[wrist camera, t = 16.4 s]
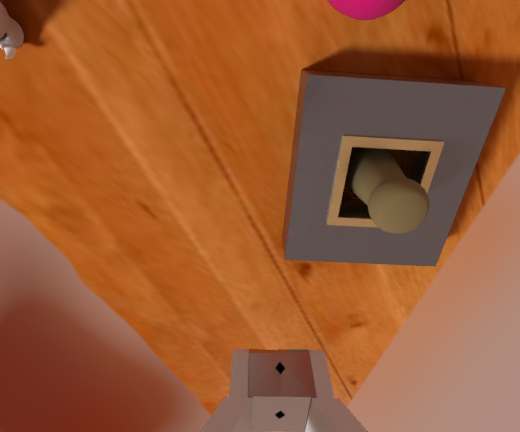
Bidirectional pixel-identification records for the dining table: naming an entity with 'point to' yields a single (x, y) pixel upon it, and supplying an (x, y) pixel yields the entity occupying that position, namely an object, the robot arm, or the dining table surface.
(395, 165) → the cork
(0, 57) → the dining table surface
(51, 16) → the dining table surface
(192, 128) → the dining table surface
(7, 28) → the round bodied animal figurine
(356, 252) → the block
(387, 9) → the pepper mill
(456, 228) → the dining table surface
